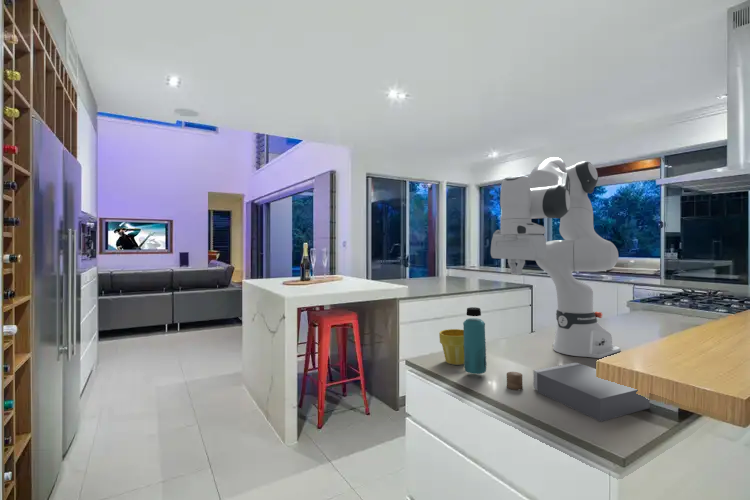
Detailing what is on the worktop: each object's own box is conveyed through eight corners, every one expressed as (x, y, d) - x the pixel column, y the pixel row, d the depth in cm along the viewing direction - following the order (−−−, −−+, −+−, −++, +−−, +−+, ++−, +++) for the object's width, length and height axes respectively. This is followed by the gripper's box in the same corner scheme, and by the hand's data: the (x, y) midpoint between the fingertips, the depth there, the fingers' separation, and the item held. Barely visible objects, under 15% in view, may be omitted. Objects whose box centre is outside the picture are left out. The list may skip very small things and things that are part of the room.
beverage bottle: (487, 379, 110) (486, 309, 109) (463, 378, 111) (462, 309, 110) (485, 372, 116) (484, 306, 115) (463, 371, 117) (462, 305, 117)
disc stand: (515, 383, 106) (515, 370, 106) (525, 388, 103) (525, 375, 103) (503, 385, 105) (503, 373, 105) (513, 391, 101) (513, 377, 101)
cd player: (537, 391, 100) (537, 372, 100) (582, 382, 106) (582, 364, 106) (600, 421, 83) (600, 398, 83) (649, 408, 89) (649, 386, 89)
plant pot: (437, 357, 132) (437, 328, 131) (468, 356, 131) (467, 328, 131) (442, 367, 121) (441, 336, 121) (475, 366, 121) (474, 335, 121)
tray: (533, 388, 102) (533, 370, 102) (575, 379, 108) (575, 362, 107) (595, 416, 85) (595, 395, 85) (641, 404, 91) (641, 384, 91)
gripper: (485, 230, 125) (486, 272, 126) (532, 227, 106) (533, 277, 107) (501, 229, 128) (501, 271, 128) (550, 227, 109) (550, 276, 109)
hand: (516, 274), depth 117 cm, fingers closed
